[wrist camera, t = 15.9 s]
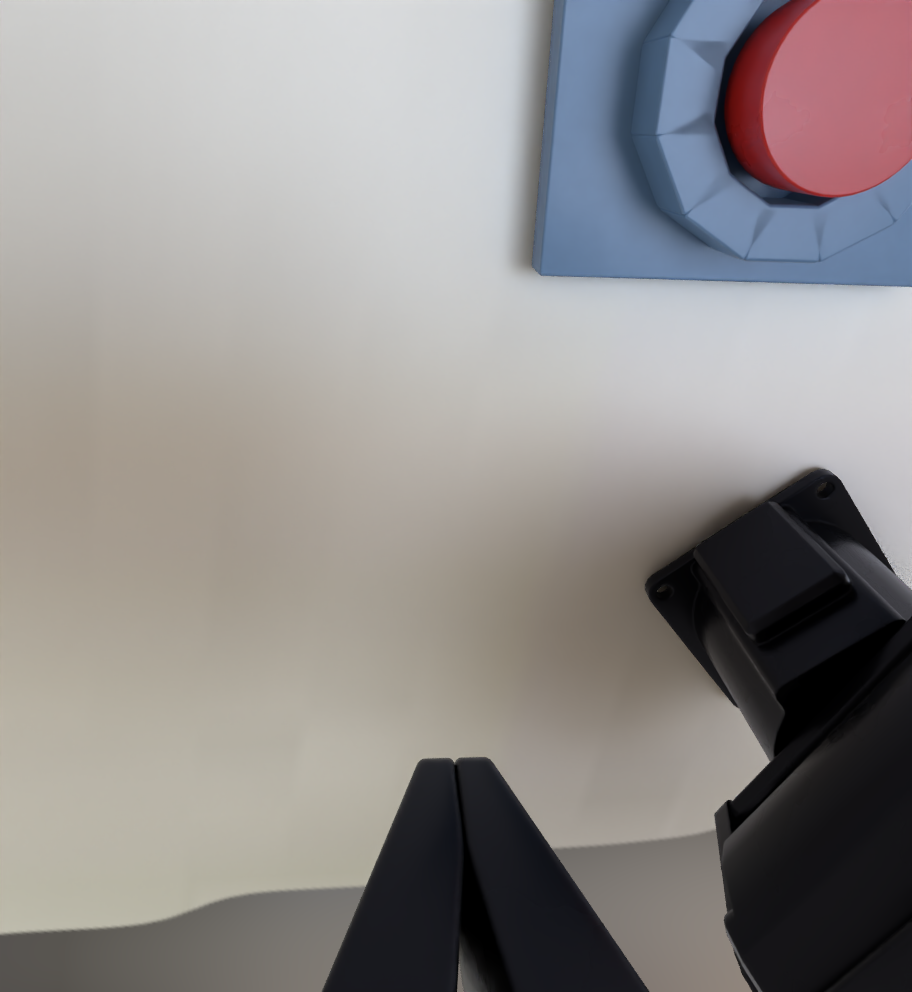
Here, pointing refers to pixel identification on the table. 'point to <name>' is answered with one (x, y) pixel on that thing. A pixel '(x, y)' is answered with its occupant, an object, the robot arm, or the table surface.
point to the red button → (824, 96)
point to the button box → (685, 162)
